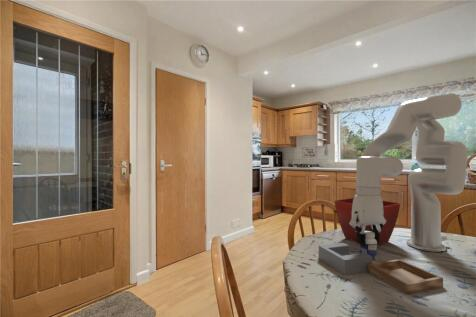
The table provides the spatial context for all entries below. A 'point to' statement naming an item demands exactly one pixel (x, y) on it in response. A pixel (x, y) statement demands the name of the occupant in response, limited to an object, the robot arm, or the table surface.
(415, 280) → the tray
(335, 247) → the dock
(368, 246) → the pill bottle
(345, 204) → the plant pot
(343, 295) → the table surface
